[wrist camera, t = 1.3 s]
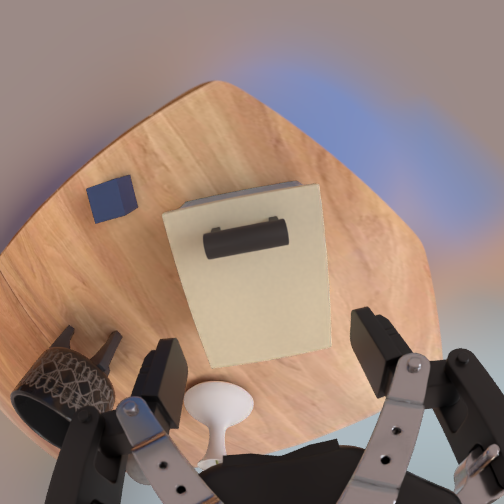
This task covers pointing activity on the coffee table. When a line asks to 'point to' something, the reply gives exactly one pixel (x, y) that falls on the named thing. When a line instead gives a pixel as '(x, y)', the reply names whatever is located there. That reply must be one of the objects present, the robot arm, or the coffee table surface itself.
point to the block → (112, 199)
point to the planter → (64, 387)
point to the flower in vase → (217, 413)
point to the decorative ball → (135, 471)
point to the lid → (255, 274)
